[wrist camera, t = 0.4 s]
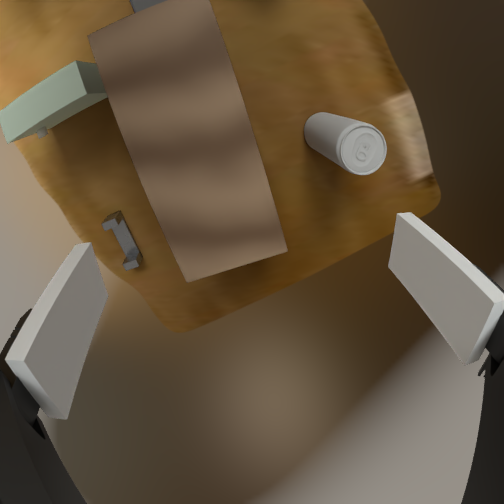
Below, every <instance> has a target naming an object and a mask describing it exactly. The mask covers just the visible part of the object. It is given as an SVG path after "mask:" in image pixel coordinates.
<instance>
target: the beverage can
mask: <svg viewBox="0 0 504 504" xmlns="http://www.w3.org/2000/svg"><path fill="white" fill-rule="evenodd" d="M304 136H305V140H306V142H307V144H308V145H309V146H310V147H311V148H313V149H314V150H316V151H318V152H319V153H321V154H322V155H324V156H325V157H327V158H328V159H330V160H332V161H333V162H335V163H336V164H338V165H339V166H341V167H342V168H344V169H345V170H347V171H348V172H350V173H353V174H358V175H368V174H371V173H373V172H375V171H376V170H378V168H379V167H380V166H381V165H382V163H383V162H384V160H385V157H386V151H387V147H386V141H385V139H384V137H383V135H382V134H381V132H380V131H379V130H377V129H376V128H375V127H373V126H372V125H370V124H368V123H365V122H361V121H357V120H354V119H350V118H346V117H342V116H338V115H334V114H330V113H326V112H320V113H316V114H314V115H312V116H311V117H310V118H309V119H308V120H307V122H306V123H305V127H304Z"/></svg>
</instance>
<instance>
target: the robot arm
mask: <svg viewBox="0 0 504 504" xmlns="http://www.w3.org/2000/svg"><path fill="white" fill-rule="evenodd" d="M388 267H389V268H390V269H391V271H392V272H393V273H394V274H395V275H396V277H397V278H398V279H399V280H400V281H401V283H402V284H403V285H404V286H405V288H406V289H407V290H408V291H409V293H410V294H411V295H412V296H413V297H414V299H415V300H416V301H417V302H418V304H419V305H420V306H421V308H422V309H423V310H424V311H425V313H426V314H427V315H428V317H429V318H430V319H431V321H432V322H433V323H434V325H435V326H436V327H437V329H438V330H439V331H440V333H441V334H442V336H443V337H444V338H445V340H446V341H447V342H448V344H449V345H450V347H451V348H452V349H453V351H454V352H455V353H456V355H457V356H458V358H459V359H460V361H461V362H462V364H463V365H468V364H470V363H472V362H475V361H477V360H479V358H480V356H481V354H482V353H483V351H484V349H485V348H486V349H487V350H488V351H489V355H488V357H487V359H486V360H485V362H484V364H483V365H482V367H481V369H480V371H479V373H478V376H480V375H481V374H482V372H483V371H484V370H485V375H484V377H485V383H484V395H483V403H482V411H481V418H480V425H479V432H478V437H477V443H476V448H475V453H474V457H473V462H472V466H471V470H470V474H469V478H468V483H467V486H466V490H465V493H464V496H463V500H462V503H461V504H504V290H503V289H502V288H501V287H500V286H499V285H498V284H496V282H493V280H492V279H491V278H490V277H489V276H487V274H486V273H485V272H484V271H483V270H482V269H480V268H479V267H478V266H476V265H474V264H473V263H471V262H470V261H469V260H467V259H466V258H465V257H464V256H463V255H462V254H461V253H459V252H458V251H457V250H456V249H455V248H453V246H451V245H450V244H449V243H448V242H447V241H445V240H444V239H443V238H442V237H441V236H439V235H438V234H437V233H436V232H435V231H433V230H432V229H431V228H430V227H428V226H427V225H426V224H425V223H423V222H422V221H421V220H420V219H418V218H417V217H416V216H415V215H413V214H412V213H397V217H396V224H395V231H394V237H393V243H392V249H391V255H390V260H389V265H388ZM107 298H108V294H107V291H106V288H105V285H104V282H103V279H102V276H101V273H100V270H99V267H98V264H97V260H96V257H95V254H94V250H93V247H92V244H91V242H89V243H82V244H76V245H75V246H74V247H73V249H72V250H71V252H70V253H69V254H68V256H67V257H66V259H65V260H64V262H63V263H62V264H61V266H60V267H59V269H58V270H57V272H56V273H55V275H54V277H53V278H52V279H51V281H50V282H49V284H48V285H47V287H46V289H45V290H44V292H43V293H42V295H41V296H40V298H39V300H38V301H37V303H36V304H35V306H34V308H33V309H30V310H28V311H27V312H26V313H25V314H24V315H23V316H22V317H21V318H20V320H19V322H18V323H17V325H16V327H15V330H13V332H12V334H11V338H9V339H8V341H7V343H6V344H5V346H4V348H3V350H2V352H1V354H0V504H87V503H86V502H85V500H84V498H83V497H82V495H81V494H80V492H79V491H78V489H77V487H76V486H75V484H74V482H73V481H72V479H71V477H70V476H69V474H68V472H67V470H66V469H65V467H64V465H63V463H62V461H61V460H60V458H59V456H58V454H57V452H56V450H55V448H54V446H53V444H52V442H51V440H50V438H49V436H48V434H47V431H46V429H45V427H44V425H43V423H42V421H41V420H40V418H39V417H38V416H37V414H38V411H39V408H41V409H42V410H43V411H44V412H45V414H46V415H47V416H48V417H51V418H58V419H67V418H68V414H69V411H70V407H71V404H72V400H73V397H74V393H75V390H76V387H77V383H78V380H79V377H80V374H81V370H82V367H83V364H84V361H85V358H86V355H87V352H88V349H89V347H90V343H91V341H92V338H93V335H94V332H95V330H96V327H97V324H98V322H99V319H100V316H101V314H102V311H103V308H104V306H105V303H106V301H107Z"/></svg>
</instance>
